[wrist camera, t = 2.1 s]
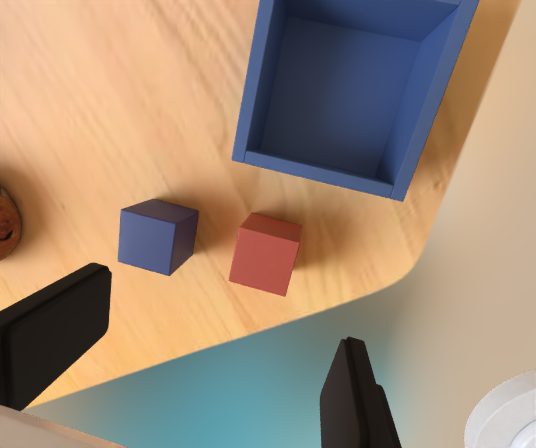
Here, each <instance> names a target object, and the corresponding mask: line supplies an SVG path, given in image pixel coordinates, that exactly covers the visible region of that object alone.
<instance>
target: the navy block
mask: <svg viewBox="0 0 536 448" xmlns="http://www.w3.org/2000/svg"><path fill="white" fill-rule="evenodd" d="M198 214H199V211H198V210H194V209H190V208H187V207H183V206H179V205H175V204H171V203H167V202H163V201H160V200H156V199H151V200H148V201H145V202H142V203H139V204H136V205H133V206H130V207H127V208H124V209H121V217H120V233H119V249H118V262H121V263H125V264H128V265H132V266H135V267H139V268H142V269H146V270H150V271H153V272H157V273H160V274H164V275H167V276H170V275H171V274H172V273H173V272H174V271H176V270H177V269H178V268H179V267H180V266H181V265H182V264H183V263H184V262H185V261H186V260H187V259H189V258H190V257H191V256H192V254H193V247H194V241H195V234H196V227H197V221H198Z"/></svg>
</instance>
